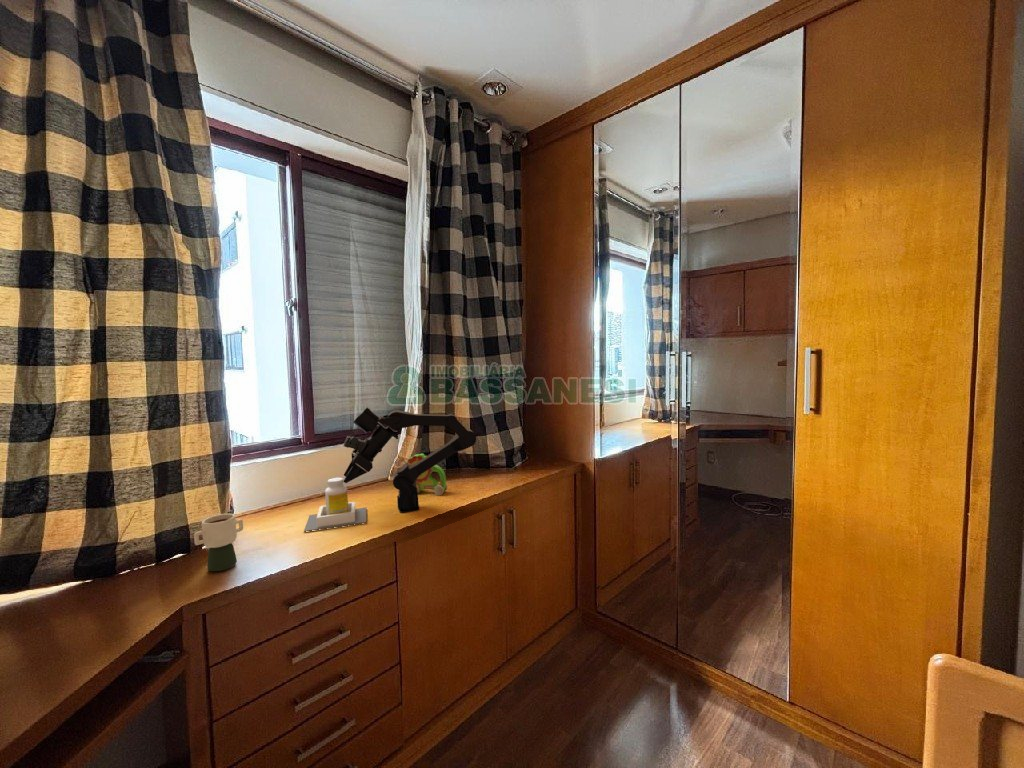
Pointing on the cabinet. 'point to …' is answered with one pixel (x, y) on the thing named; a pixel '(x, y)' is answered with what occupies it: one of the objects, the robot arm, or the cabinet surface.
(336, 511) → the supplement bottle
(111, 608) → the cabinet surface
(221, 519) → the white green trophy cup
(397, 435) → the robot arm
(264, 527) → the cabinet surface
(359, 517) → the holder
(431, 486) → the toy lion
